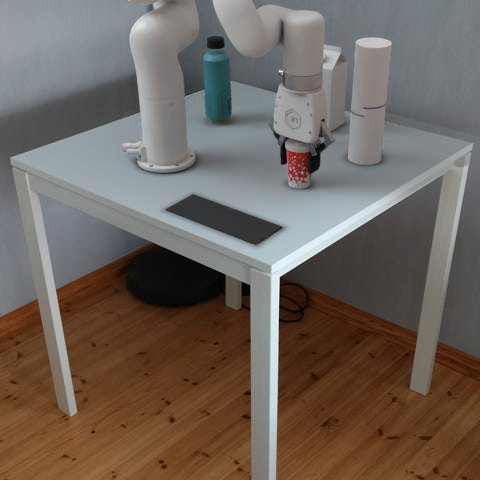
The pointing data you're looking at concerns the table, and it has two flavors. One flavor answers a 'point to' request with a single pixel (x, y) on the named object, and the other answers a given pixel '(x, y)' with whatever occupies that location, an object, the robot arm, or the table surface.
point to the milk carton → (334, 85)
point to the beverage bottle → (217, 80)
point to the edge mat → (224, 219)
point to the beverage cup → (298, 163)
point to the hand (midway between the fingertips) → (299, 166)
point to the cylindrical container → (369, 100)
